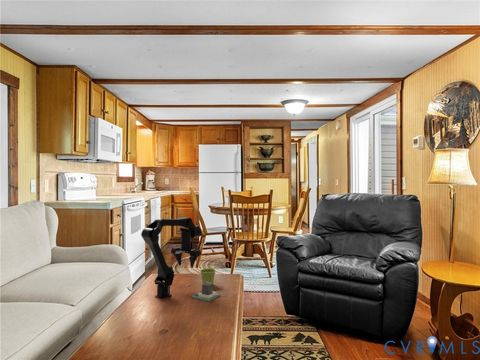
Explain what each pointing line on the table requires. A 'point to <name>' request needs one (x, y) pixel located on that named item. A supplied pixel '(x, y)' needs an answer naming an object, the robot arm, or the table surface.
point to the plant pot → (207, 275)
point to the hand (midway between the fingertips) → (186, 266)
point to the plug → (207, 288)
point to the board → (205, 296)
